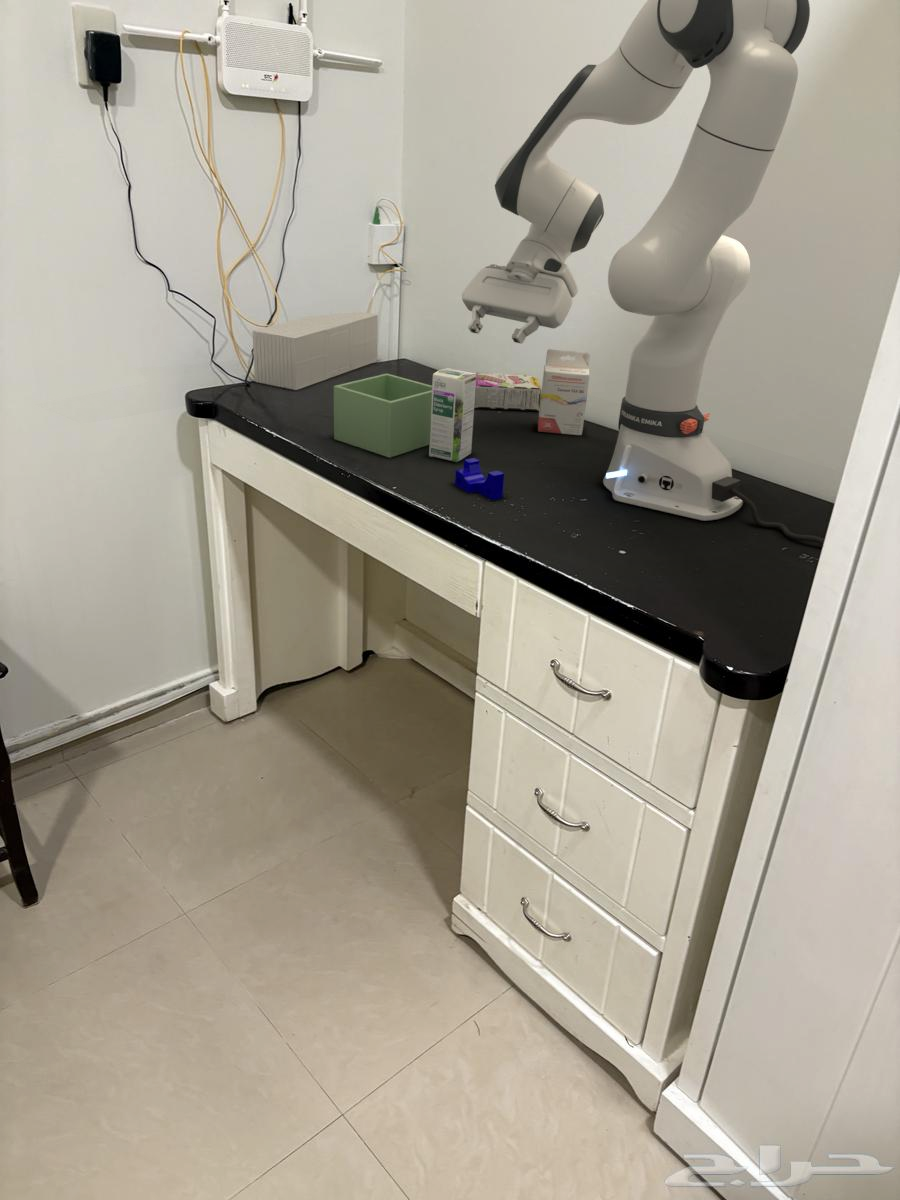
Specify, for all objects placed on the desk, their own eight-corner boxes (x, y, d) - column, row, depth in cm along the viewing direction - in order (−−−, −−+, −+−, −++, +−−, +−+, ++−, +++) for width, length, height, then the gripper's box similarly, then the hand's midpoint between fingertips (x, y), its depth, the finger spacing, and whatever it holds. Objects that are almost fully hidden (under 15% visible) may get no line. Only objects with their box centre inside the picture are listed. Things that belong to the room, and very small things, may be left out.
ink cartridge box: (537, 432, 176) (545, 354, 169) (537, 424, 180) (545, 348, 174) (582, 436, 176) (592, 357, 169) (581, 428, 180) (591, 351, 173)
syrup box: (427, 456, 161) (431, 373, 154) (443, 447, 165) (447, 366, 159) (457, 463, 158) (461, 378, 152) (472, 453, 163) (477, 371, 156)
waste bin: (440, 441, 169) (443, 388, 164) (389, 457, 159) (390, 402, 155) (385, 423, 176) (386, 373, 172) (333, 439, 167) (333, 385, 162)
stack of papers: (294, 338, 188) (252, 330, 192) (296, 390, 193) (254, 381, 197) (378, 314, 214) (338, 308, 218) (377, 361, 219) (339, 354, 223)
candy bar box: (459, 369, 195) (537, 374, 196) (458, 393, 198) (534, 397, 198) (460, 383, 185) (542, 388, 186) (459, 408, 188) (540, 412, 188)
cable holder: (454, 484, 149) (456, 461, 147) (472, 481, 151) (474, 458, 149) (484, 501, 144) (485, 477, 142) (502, 497, 145) (504, 473, 144)
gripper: (478, 251, 166) (440, 314, 163) (575, 267, 154) (535, 334, 152) (491, 275, 171) (455, 336, 169) (586, 292, 160) (548, 358, 157)
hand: (494, 335), depth 160 cm, fingers open, 8 cm apart
